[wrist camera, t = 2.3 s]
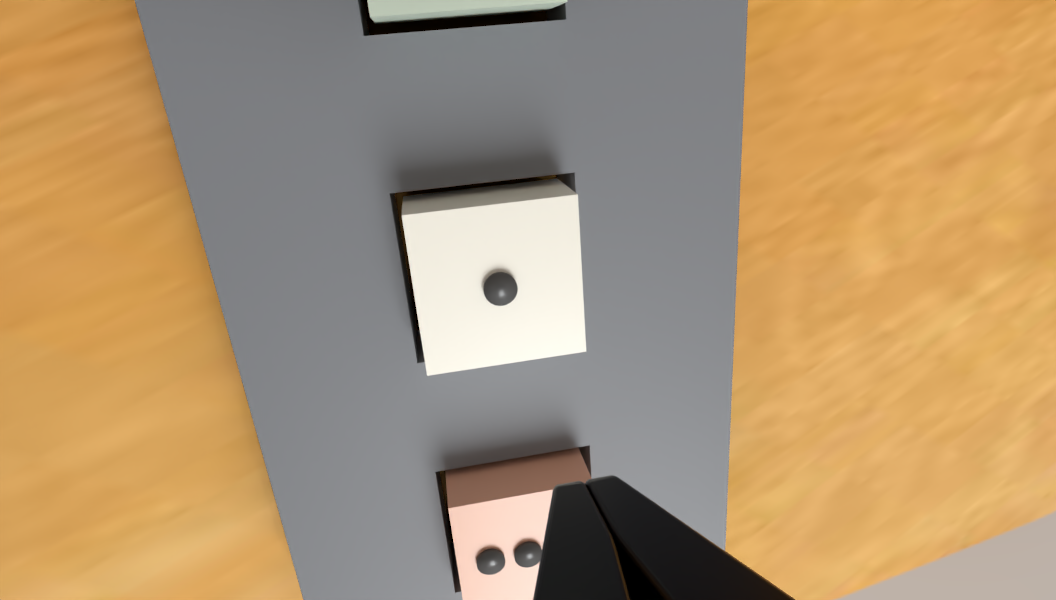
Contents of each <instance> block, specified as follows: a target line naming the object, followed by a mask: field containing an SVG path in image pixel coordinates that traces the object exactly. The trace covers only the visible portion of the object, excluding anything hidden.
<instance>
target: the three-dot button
mask: <svg viewBox="0 0 1056 600" xmlns="http://www.w3.org/2000/svg"><path fill="white" fill-rule="evenodd" d="M445 474H446V487H447V499H448V510H449V517H450V523H451V529H452V535H453V542H454V548H455V554H456V561H457V567H458V573H459V579H460V586H461V592H462V598H463V600H533V597H534V591H535V586H536V580H537V575H538V569H539V564H540V558H541V553H542V547H543V542H544V536H545V531H546V525H547V520H548V514H549V509H550V503H551V498H552V492H553V489H554V487H555V486H556V485H559V484H564V483H570V482H576V481H581V482H584V483H586V481H587V480H588V479H592V478H591V476H590V473H589V471H588V469H587V466H586V464H585V462H584V459H583V457H582V455H581V453H580V450H579V448H578V447H577V448H571V449H565V450H560V451H554V452H548V453H542V454H536V455H531V456H525V457H519V458H513V459H507V460H502V461H496V462H490V463H484V464H478V465H473V466H467V467H461V468H455V469H449V470H445Z"/></svg>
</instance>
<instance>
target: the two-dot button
mask: <svg viewBox="0 0 1056 600" xmlns="http://www.w3.org/2000/svg"><path fill="white" fill-rule="evenodd" d="M367 2H368V8H369V14H370V18H371V19H372V20H373V21H374V22H375V23H376V24H386V23H399V22H411V21H424V20H437V19H449V18H462V17H475V16H487V15H500V14H513V13H525V12H538V11H547V10H549V9H552V8H554V7H556V6H559V5H561V4H563V3H566V2H567V0H367Z"/></svg>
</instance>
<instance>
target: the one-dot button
mask: <svg viewBox="0 0 1056 600" xmlns="http://www.w3.org/2000/svg"><path fill="white" fill-rule="evenodd" d="M402 221H403V228H404V234H405V240H406V247H407V253H408V259H409V265H410V272H411V278H412V284H413V291H414V297H415V303H416V309H417V316H418V322H419V328H420V334H421V341H422V347H423V353H424V360H425V366H426V372H427V376H430V375H436V374H443V373H449V372H456V371H462V370H469V369H476V368H482V367H489V366H495V365H502V364H508V363H515V362H522V361H528V360H535V359H541V358H548V357H554V356H561V355H568V354H574V353H581V352H586V336H585V318H584V299H583V280H582V262H581V243H580V225H579V206H578V194H577V193H575V192H574V191H573V190H571V189H570V188H569V187H568V186H566V185H565V184H564V183H562V182H561V181H560V180H559V179H548V180H540V181H531V182H522V183H513V184H505V185H496V186H487V187H479V188H470V189H461V190H452V191H444V192H435V193H426V194H418V195H409V196H403V204H402Z"/></svg>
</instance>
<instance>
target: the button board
mask: <svg viewBox="0 0 1056 600" xmlns="http://www.w3.org/2000/svg"><path fill="white" fill-rule="evenodd" d="M135 3H136V7H137V10H138V14H139V17H140V21H141V24H142V28H143V32H144V35H145V39H146V42H147V46H148V49H149V53H150V56H151V60H152V63H153V67H154V71H155V74H156V78H157V81H158V85H159V88H160V92H161V95H162V99H163V103H164V106H165V110H166V113H167V117H168V120H169V124H170V127H171V131H172V134H173V138H174V142H175V145H176V149H177V152H178V156H179V159H180V163H181V166H182V170H183V174H184V177H185V181H186V184H187V188H188V191H189V195H190V198H191V202H192V205H193V209H194V213H195V216H196V220H197V223H198V227H199V230H200V234H201V237H202V241H203V245H204V248H205V252H206V255H207V259H208V262H209V266H210V269H211V273H212V276H213V280H214V284H215V287H216V291H217V294H218V298H219V301H220V305H221V308H222V312H223V315H224V319H225V323H226V326H227V330H228V333H229V337H230V340H231V344H232V347H233V351H234V355H235V358H236V362H237V365H238V369H239V372H240V376H241V379H242V383H243V386H244V390H245V394H246V397H247V401H248V404H249V408H250V411H251V415H252V418H253V422H254V426H255V429H256V433H257V436H258V440H259V443H260V447H261V450H262V454H263V457H264V461H265V465H266V468H267V472H268V475H269V479H270V482H271V486H272V489H273V493H274V497H275V500H276V504H277V507H278V511H279V514H280V518H281V521H282V525H283V528H284V532H285V536H286V539H287V543H288V546H289V550H290V553H291V557H292V560H293V564H294V567H295V571H296V575H297V578H298V582H299V585H300V589H301V592H302V596H303V599H304V600H463V598H462V592H461V586H460V579H459V573H458V567H457V561H456V554H455V548H454V542H451V538H450V532H449V526H448V520H447V514H446V507H445V501H444V495H443V489H442V482H441V476H440V471H444V470H449V469H455V468H461V467H467V466H473V465H478V464H484V463H490V462H496V461H502V460H507V459H513V458H519V457H525V456H531V455H536V454H542V453H548V452H554V451H560V450H565V449H571V448H577V447H578V448H579V450H580V453H581V455H582V457H583V459H584V462H585V464H586V466H587V469H588V471H589V473H590V476H591V478H598V477H603V476H609V475H614V476H617V477H619V478H620V479H621V480H623V481H624V482H626V483H627V484H629V485H630V486H632V487H633V488H634V489H636V490H637V491H639V492H640V493H642V494H643V495H645V496H646V497H648V498H649V499H650V500H652V501H653V502H655V503H656V504H658V505H659V506H661V507H662V508H663V509H665V510H666V511H668V512H669V513H671V514H672V515H674V516H675V517H676V518H678V519H679V520H681V521H682V522H684V523H685V524H687V525H688V526H689V527H691V528H692V529H694V530H695V531H697V532H698V533H700V534H701V535H703V536H704V537H705V538H707V539H708V540H710V541H711V542H713V543H714V544H716V545H717V546H718V547H720V548H721V549H723V550H724V551H725V541H726V517H727V493H728V469H729V444H730V420H731V396H732V371H733V347H734V323H735V299H736V274H737V250H738V226H739V202H740V177H741V153H742V129H743V104H744V80H745V56H746V32H747V7H748V0H567V2H566V3H563V4H561V5H559V6H556V7H554V8H552V9H549V10H547V11H546V18H547V21H542V22H530V23H517V24H505V25H493V26H480V27H468V28H456V29H443V30H431V31H419V32H407V33H394V34H382V35H369V29H368V23H367V17H366V11H365V4H364V0H135ZM556 174H557V179H559V180H560V181H561V182H562V183H564V184H565V185H566V186H568V187H569V188H570V189H571V190H573V191H574V192H575V193H577V194H578V206H579V225H580V243H581V262H582V280H583V299H584V318H585V336H586V352H581V353H574V354H568V355H561V356H554V357H548V358H541V359H535V360H528V361H522V362H515V363H508V364H502V365H495V366H489V367H482V368H476V369H469V370H462V371H456V372H449V373H443V374H436V375H430V376H427V372H426V366H425V360H424V353H423V347H422V341H421V334H420V330H417V327H416V321H415V315H414V309H413V302H412V296H411V290H410V284H409V278H408V271H407V265H406V259H405V253H404V246H403V240H402V234H401V228H400V222H399V215H398V209H397V203H396V197H395V193H398V192H407V191H416V190H425V189H433V188H442V187H451V186H460V185H469V184H477V183H486V182H495V181H504V180H512V179H521V178H530V177H539V176H548V175H556Z"/></svg>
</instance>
